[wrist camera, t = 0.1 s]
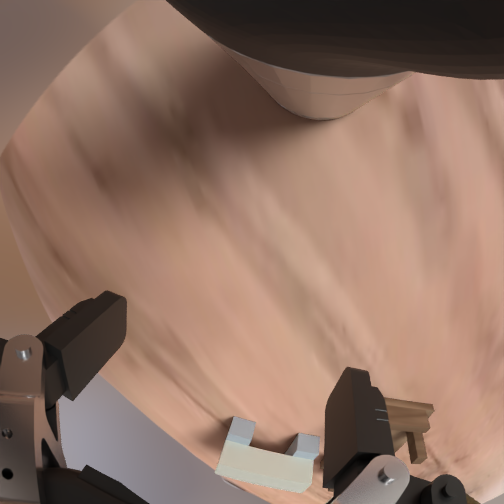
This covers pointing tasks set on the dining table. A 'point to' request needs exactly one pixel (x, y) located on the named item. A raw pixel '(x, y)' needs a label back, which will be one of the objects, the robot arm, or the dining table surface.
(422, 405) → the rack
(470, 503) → the clay pot
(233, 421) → the pair of grey blocks
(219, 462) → the white rectangular block
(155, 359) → the dining table surface
